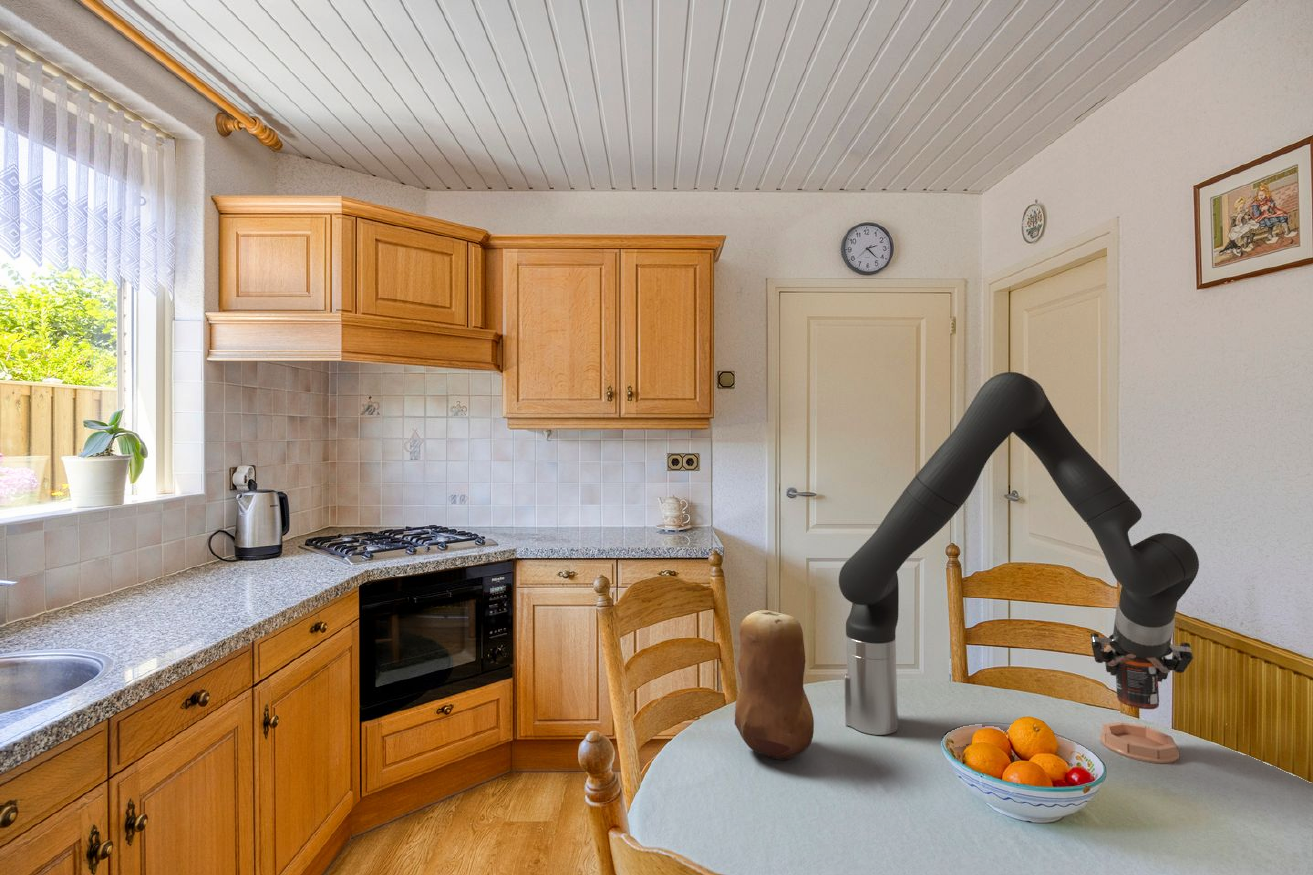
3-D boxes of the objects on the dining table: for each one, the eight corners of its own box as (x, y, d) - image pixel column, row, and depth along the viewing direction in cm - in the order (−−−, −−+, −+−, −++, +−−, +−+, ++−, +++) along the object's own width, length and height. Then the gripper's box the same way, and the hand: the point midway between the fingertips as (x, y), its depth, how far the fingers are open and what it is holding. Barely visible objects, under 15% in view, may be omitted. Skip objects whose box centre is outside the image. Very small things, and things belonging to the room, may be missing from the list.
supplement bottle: (1167, 711, 105) (1164, 645, 105) (1128, 709, 106) (1125, 644, 106) (1147, 698, 110) (1144, 635, 111) (1110, 696, 112) (1107, 634, 112)
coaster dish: (1104, 753, 106) (1103, 740, 106) (1097, 728, 116) (1096, 716, 116) (1186, 769, 101) (1185, 755, 101) (1171, 741, 110) (1171, 729, 110)
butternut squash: (808, 737, 114) (805, 603, 115) (820, 774, 101) (816, 623, 102) (734, 734, 116) (731, 603, 116) (736, 771, 102) (733, 622, 103)
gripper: (1195, 608, 99) (1182, 660, 109) (1087, 599, 106) (1084, 649, 116) (1206, 650, 94) (1191, 701, 104) (1092, 638, 101) (1088, 686, 111)
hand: (1134, 673), depth 110 cm, fingers closed on supplement bottle, 6 cm apart
